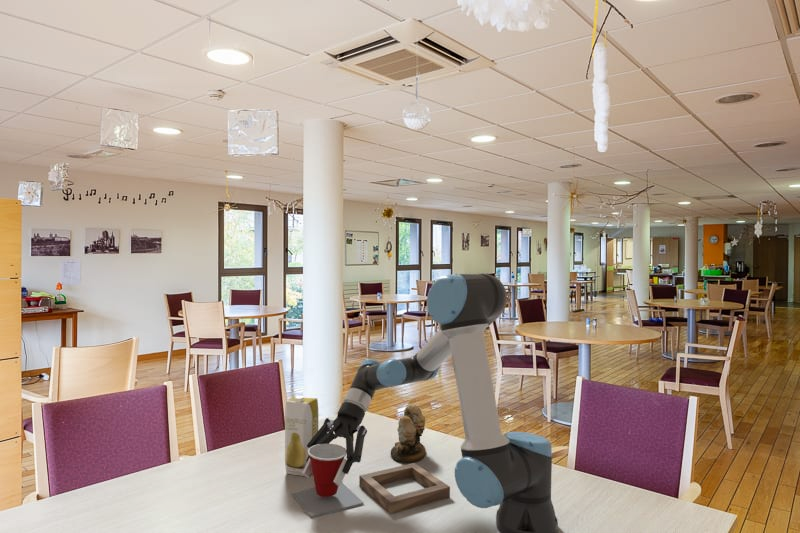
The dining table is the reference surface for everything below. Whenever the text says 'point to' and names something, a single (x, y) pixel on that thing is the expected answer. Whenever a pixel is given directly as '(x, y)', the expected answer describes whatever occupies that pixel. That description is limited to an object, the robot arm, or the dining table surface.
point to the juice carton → (299, 432)
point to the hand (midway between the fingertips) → (320, 479)
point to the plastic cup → (326, 467)
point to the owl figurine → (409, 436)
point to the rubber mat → (326, 501)
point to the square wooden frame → (408, 500)
